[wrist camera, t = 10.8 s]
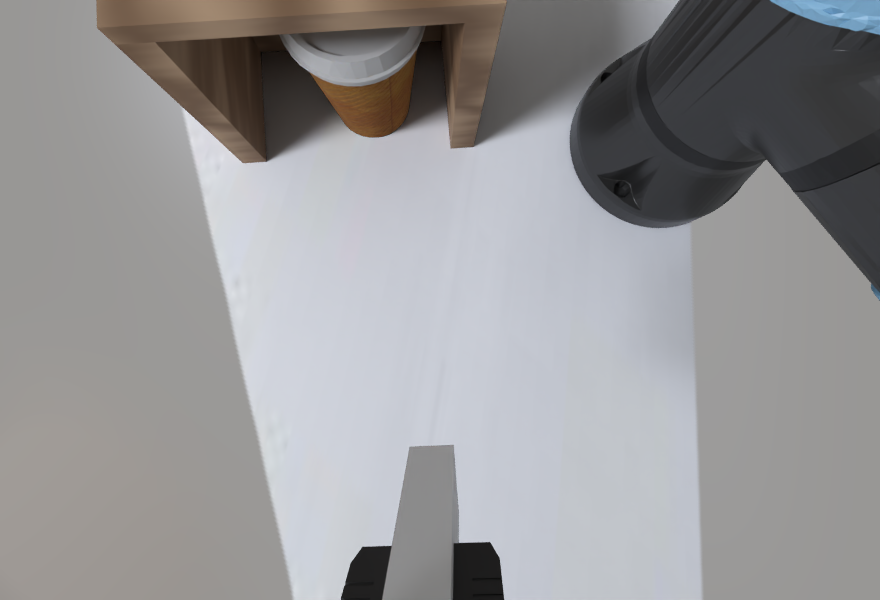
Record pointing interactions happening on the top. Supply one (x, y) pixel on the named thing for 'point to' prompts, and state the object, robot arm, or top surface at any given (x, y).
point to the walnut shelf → (258, 30)
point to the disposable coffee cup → (362, 73)
